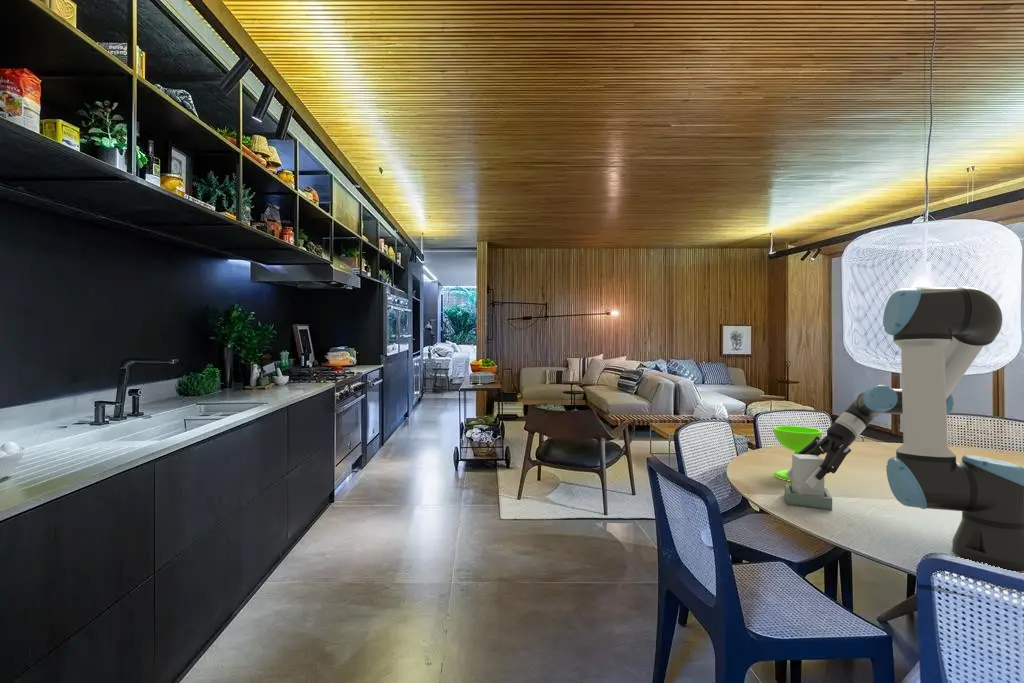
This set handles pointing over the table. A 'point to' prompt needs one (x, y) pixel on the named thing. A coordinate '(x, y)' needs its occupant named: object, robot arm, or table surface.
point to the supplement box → (806, 474)
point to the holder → (808, 499)
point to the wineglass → (794, 440)
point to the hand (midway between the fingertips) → (798, 481)
